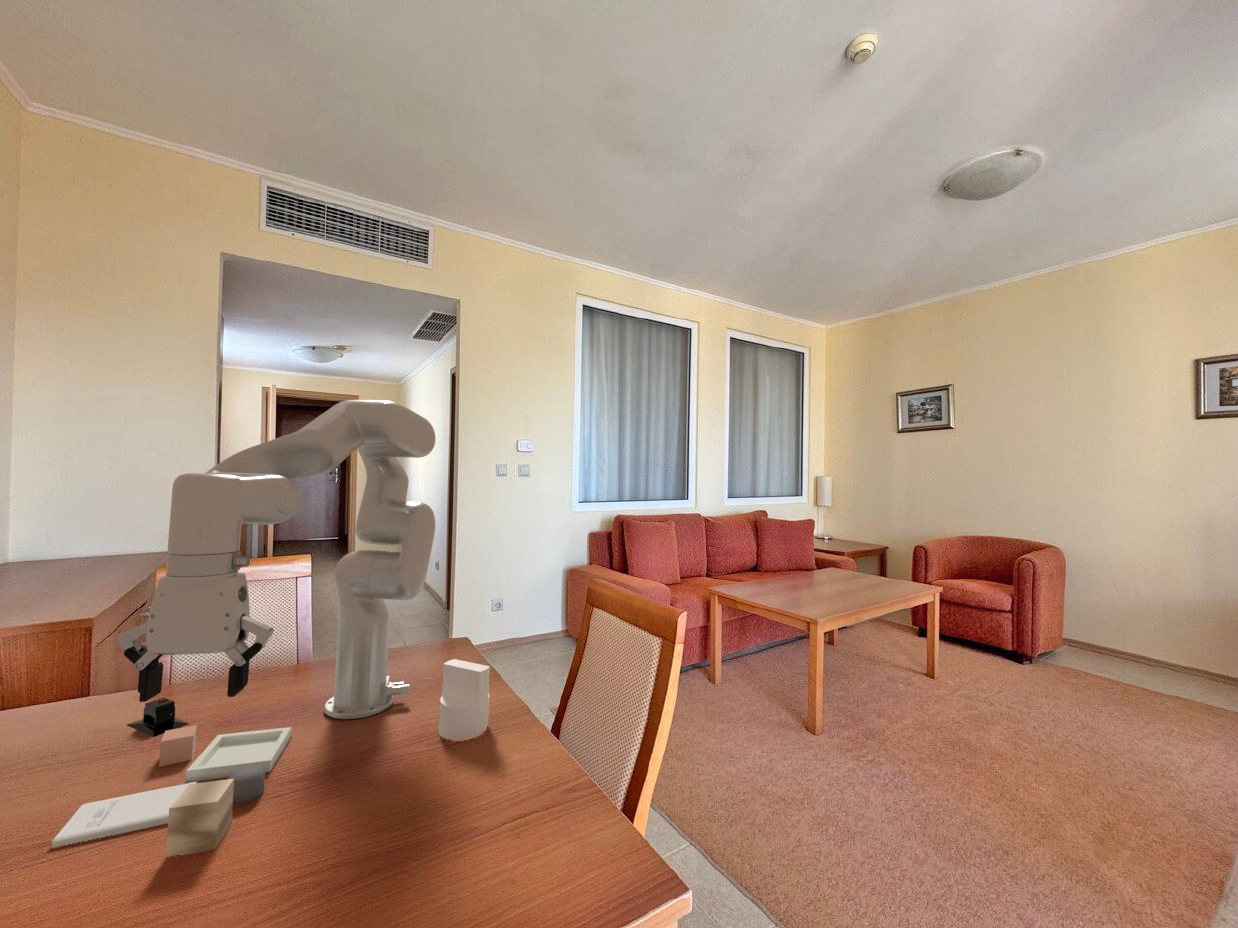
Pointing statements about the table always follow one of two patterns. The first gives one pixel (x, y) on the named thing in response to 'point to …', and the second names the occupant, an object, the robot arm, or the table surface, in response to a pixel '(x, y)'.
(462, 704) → the white rounded pedestal block
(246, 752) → the tray
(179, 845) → the beech block
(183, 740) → the terracotta cube
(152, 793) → the external hard drive
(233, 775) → the grey rounded lump
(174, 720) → the black boxy piece
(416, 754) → the table surface
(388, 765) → the table surface
